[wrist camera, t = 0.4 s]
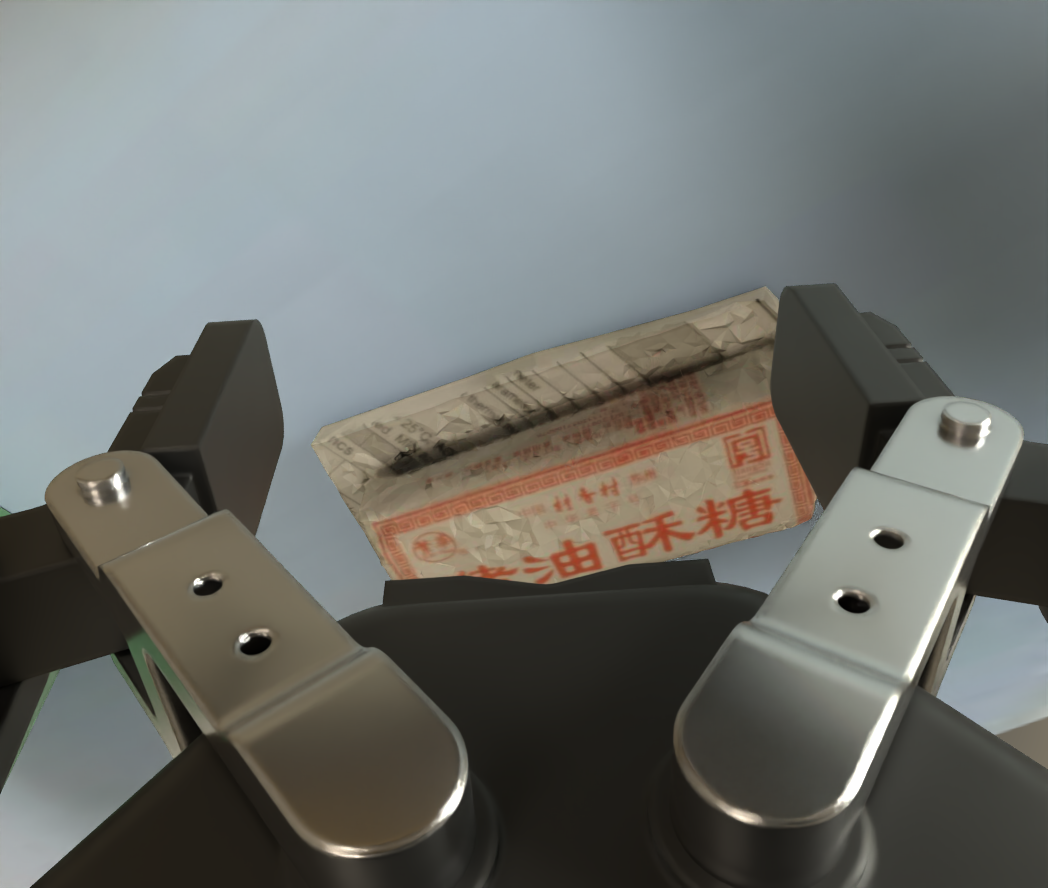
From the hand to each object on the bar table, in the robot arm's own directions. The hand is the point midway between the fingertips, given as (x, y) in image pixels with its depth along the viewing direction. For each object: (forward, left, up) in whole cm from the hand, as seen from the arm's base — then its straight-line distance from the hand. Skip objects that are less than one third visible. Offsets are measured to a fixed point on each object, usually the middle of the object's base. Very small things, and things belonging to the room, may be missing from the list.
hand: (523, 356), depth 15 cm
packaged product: (+14, +2, -18) cm, 23 cm away
